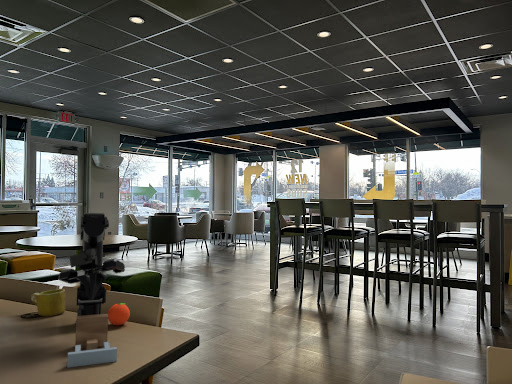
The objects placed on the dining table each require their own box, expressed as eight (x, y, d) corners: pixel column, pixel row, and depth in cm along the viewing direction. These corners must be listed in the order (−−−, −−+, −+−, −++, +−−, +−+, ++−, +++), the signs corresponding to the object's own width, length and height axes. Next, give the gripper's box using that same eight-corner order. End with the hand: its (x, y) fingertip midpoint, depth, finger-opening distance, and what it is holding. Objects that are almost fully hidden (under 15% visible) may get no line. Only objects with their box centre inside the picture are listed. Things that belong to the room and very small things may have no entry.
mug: (77, 306, 144) (67, 281, 143) (55, 321, 135) (44, 295, 133) (53, 309, 149) (44, 285, 147) (30, 324, 139) (20, 299, 138)
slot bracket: (68, 358, 97) (68, 346, 97) (114, 352, 102) (115, 341, 102) (67, 367, 91) (67, 354, 92) (116, 361, 96) (117, 348, 96)
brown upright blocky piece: (75, 346, 107) (76, 316, 107) (106, 342, 110) (107, 313, 110) (74, 356, 98) (76, 324, 99) (108, 352, 102) (109, 321, 102)
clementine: (125, 320, 133) (126, 299, 134) (136, 324, 129) (137, 302, 129) (103, 325, 127) (104, 302, 128) (113, 329, 123) (114, 306, 123)
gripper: (48, 248, 116) (43, 301, 108) (106, 234, 113) (105, 287, 106) (72, 258, 125) (68, 307, 118) (125, 246, 123) (125, 295, 116)
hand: (91, 299), depth 114 cm, fingers closed
